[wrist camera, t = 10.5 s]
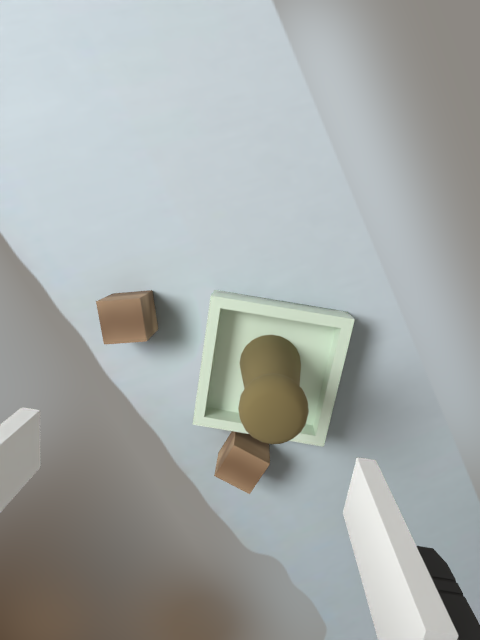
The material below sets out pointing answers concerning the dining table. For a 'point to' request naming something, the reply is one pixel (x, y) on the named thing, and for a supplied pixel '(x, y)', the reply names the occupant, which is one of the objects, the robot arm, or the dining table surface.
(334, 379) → the tray
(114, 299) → the walnut cube
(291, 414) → the olive tall rounded piece
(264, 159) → the dining table surface
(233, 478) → the walnut cube
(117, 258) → the dining table surface
